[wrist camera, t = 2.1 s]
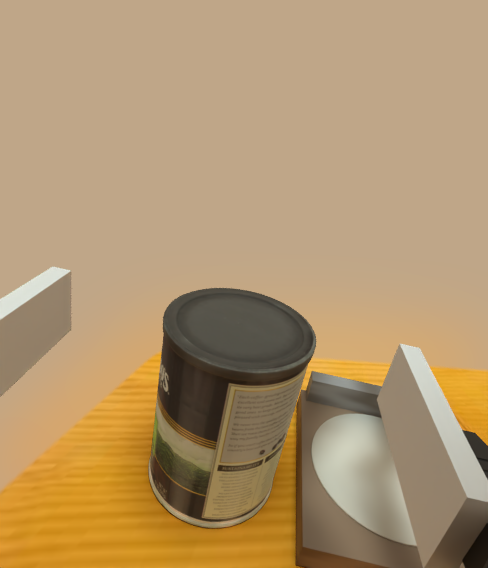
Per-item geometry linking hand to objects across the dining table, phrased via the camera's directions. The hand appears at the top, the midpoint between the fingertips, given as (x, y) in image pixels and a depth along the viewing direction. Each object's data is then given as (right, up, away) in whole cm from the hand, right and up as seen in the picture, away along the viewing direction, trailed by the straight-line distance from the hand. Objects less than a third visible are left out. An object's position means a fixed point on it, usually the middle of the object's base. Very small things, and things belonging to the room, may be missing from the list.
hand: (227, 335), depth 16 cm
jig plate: (+12, -15, +18) cm, 26 cm away
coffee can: (-2, -13, +17) cm, 21 cm away
